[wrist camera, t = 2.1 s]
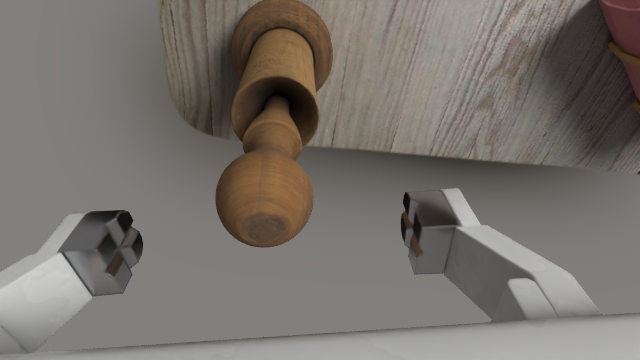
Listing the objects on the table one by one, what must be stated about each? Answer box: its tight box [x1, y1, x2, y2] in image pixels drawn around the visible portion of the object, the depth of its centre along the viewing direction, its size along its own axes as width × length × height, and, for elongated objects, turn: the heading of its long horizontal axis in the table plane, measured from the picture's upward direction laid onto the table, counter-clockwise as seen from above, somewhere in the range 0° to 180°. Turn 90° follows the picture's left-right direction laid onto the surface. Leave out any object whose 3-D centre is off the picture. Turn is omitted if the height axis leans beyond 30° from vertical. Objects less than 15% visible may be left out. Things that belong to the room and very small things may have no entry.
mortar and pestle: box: [216, 0, 333, 247], centre depth 17 cm, size 7×6×18 cm
